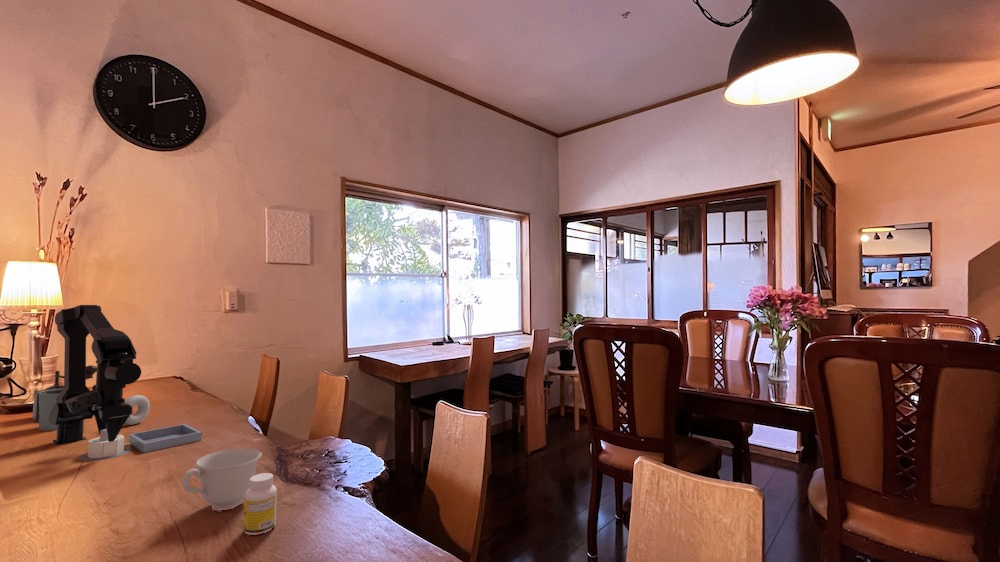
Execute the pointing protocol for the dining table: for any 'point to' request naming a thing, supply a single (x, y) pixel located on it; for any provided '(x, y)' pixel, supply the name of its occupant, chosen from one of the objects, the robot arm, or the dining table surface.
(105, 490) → the dining table surface
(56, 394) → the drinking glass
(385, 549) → the dining table surface
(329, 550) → the dining table surface
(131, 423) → the donut
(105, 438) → the stake
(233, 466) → the teacup
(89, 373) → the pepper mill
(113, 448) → the ring
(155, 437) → the tray
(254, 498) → the supplement bottle
